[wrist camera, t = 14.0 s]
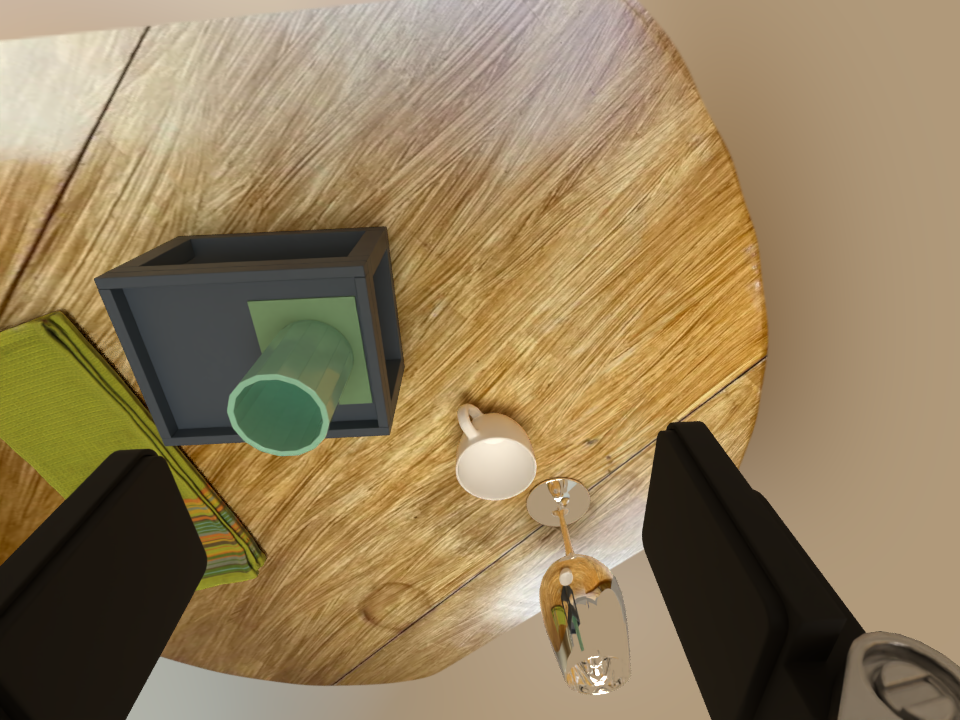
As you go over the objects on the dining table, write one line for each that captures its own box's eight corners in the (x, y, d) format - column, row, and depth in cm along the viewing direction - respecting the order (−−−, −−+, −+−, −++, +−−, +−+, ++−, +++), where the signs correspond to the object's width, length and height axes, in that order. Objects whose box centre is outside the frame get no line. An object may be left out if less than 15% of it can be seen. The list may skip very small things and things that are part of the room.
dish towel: (165, 587, 64) (151, 610, 61) (-67, 355, 48) (-101, 372, 45) (271, 556, 62) (262, 579, 59) (67, 303, 46) (41, 317, 43)
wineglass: (591, 473, 57) (648, 643, 39) (590, 522, 60) (642, 698, 43) (523, 479, 57) (549, 652, 39) (526, 528, 61) (552, 706, 43)
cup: (481, 467, 56) (483, 512, 50) (430, 405, 52) (425, 446, 46) (541, 436, 54) (551, 478, 48) (492, 369, 50) (496, 407, 44)
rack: (178, 236, 43) (92, 278, 33) (386, 226, 43) (363, 265, 33) (224, 376, 50) (164, 446, 40) (404, 367, 50) (389, 435, 40)
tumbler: (263, 321, 36) (214, 377, 29) (346, 317, 36) (318, 372, 29) (282, 392, 39) (242, 458, 32) (359, 388, 39) (336, 453, 32)
